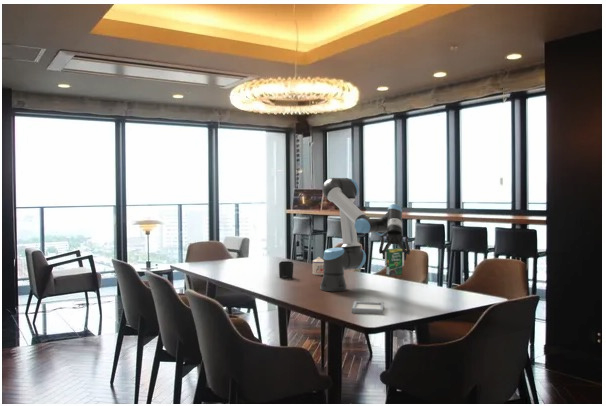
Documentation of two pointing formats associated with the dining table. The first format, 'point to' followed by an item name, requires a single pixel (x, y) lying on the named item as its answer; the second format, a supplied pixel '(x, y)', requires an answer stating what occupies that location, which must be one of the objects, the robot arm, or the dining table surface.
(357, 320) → the dining table surface
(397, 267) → the coffee box
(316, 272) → the teacup with lid
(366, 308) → the dock plate
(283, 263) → the pen holder
